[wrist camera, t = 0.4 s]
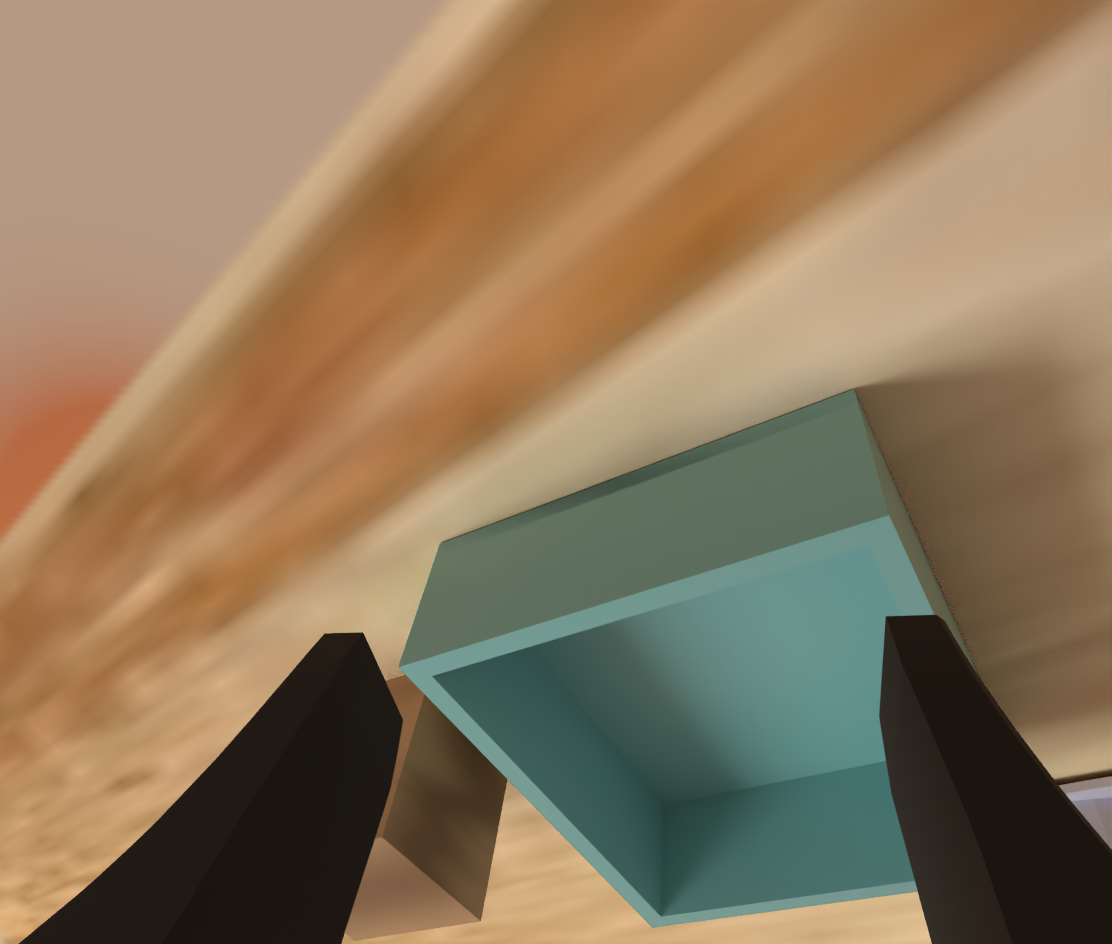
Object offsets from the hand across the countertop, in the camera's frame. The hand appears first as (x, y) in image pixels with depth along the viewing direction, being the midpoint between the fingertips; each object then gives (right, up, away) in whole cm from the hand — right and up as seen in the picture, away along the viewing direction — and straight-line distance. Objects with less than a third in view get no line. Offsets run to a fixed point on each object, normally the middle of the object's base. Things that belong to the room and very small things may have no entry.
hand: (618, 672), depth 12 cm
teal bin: (+4, -2, +14) cm, 15 cm away
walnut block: (-6, -6, +19) cm, 20 cm away
